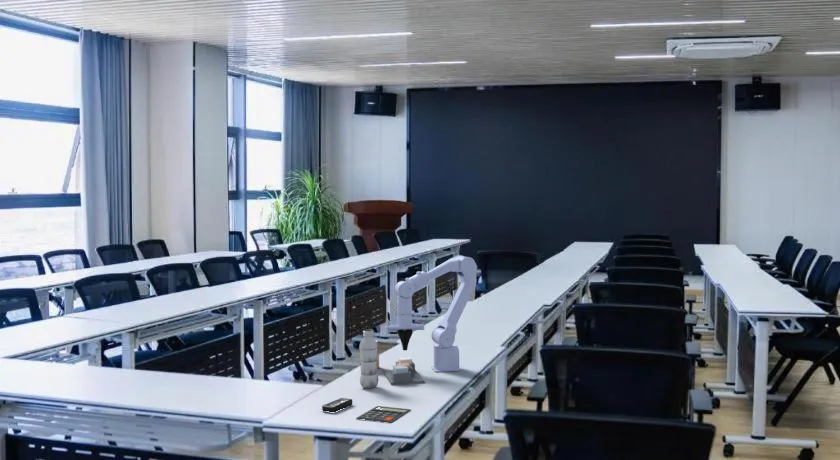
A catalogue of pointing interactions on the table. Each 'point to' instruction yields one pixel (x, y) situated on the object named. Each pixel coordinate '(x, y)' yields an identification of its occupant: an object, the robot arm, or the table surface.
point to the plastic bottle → (368, 360)
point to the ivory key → (405, 360)
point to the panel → (404, 376)
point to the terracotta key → (403, 365)
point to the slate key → (400, 369)
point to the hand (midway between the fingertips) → (404, 349)
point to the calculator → (384, 414)
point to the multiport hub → (337, 405)
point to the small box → (377, 355)
